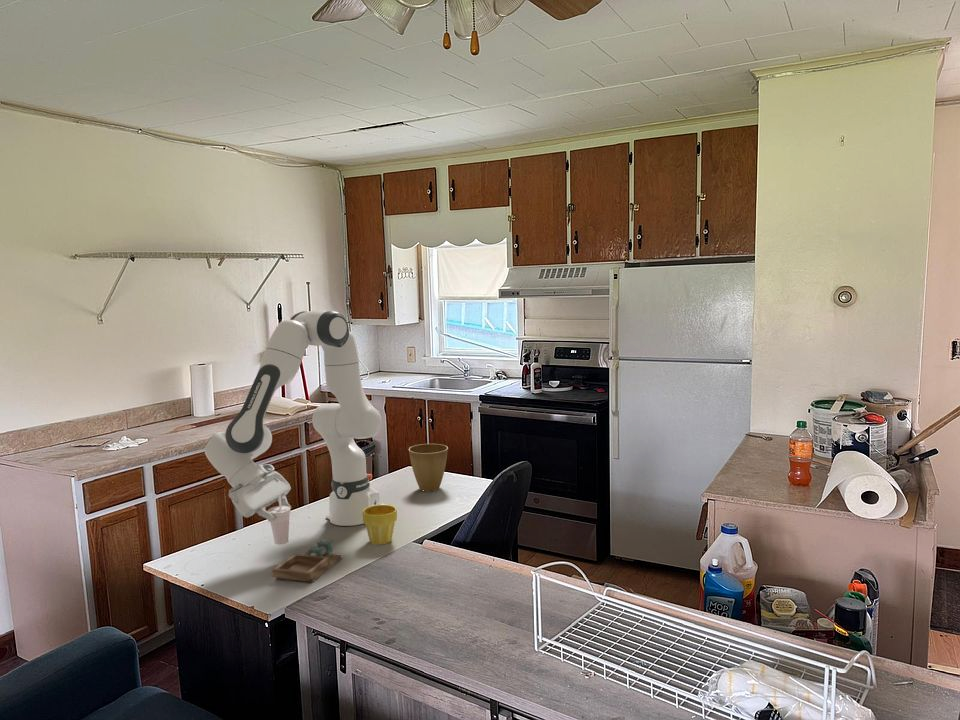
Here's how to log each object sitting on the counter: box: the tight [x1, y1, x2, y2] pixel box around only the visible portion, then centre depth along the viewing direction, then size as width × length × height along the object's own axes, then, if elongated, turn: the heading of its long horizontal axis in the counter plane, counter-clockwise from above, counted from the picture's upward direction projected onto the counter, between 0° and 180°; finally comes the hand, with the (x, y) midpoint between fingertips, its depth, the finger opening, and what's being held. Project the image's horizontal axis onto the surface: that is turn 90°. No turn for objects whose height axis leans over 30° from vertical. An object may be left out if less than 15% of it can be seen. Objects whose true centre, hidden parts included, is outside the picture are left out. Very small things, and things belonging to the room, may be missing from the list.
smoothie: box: [267, 494, 292, 545], centre depth 192 cm, size 6×6×14 cm
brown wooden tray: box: [271, 540, 342, 583], centre depth 187 cm, size 20×11×4 cm, turn 164°
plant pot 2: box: [408, 443, 449, 492], centre depth 256 cm, size 15×15×16 cm
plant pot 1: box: [363, 504, 398, 545], centre depth 205 cm, size 10×10×10 cm
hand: (281, 514), depth 192 cm, fingers closed on smoothie, 6 cm apart
